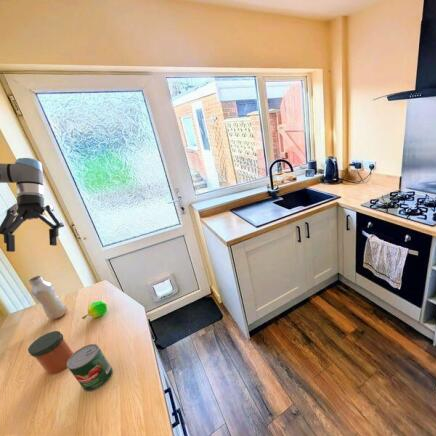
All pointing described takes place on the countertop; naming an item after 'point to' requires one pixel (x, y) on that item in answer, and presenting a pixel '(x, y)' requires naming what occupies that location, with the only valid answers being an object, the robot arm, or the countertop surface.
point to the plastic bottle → (47, 298)
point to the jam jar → (56, 358)
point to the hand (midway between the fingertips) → (32, 248)
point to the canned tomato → (90, 367)
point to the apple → (96, 309)
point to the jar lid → (45, 344)
